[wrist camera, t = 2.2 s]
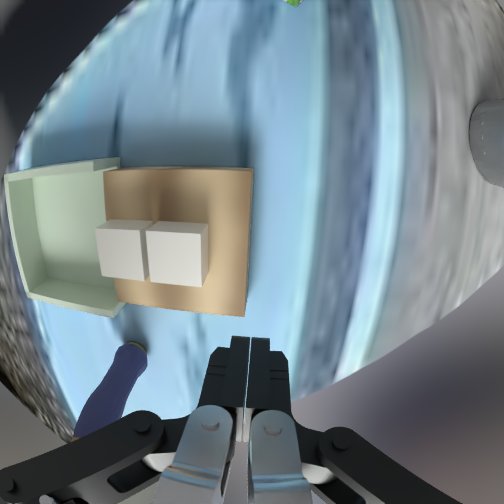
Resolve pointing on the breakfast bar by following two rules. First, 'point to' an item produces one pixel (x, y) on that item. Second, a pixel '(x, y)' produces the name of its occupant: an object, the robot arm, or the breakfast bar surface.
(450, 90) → the breakfast bar surface
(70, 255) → the tray
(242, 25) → the breakfast bar surface
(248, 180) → the board
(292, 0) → the syrup box
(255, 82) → the breakfast bar surface
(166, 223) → the tile
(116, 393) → the rubber mallet
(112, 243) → the tile
